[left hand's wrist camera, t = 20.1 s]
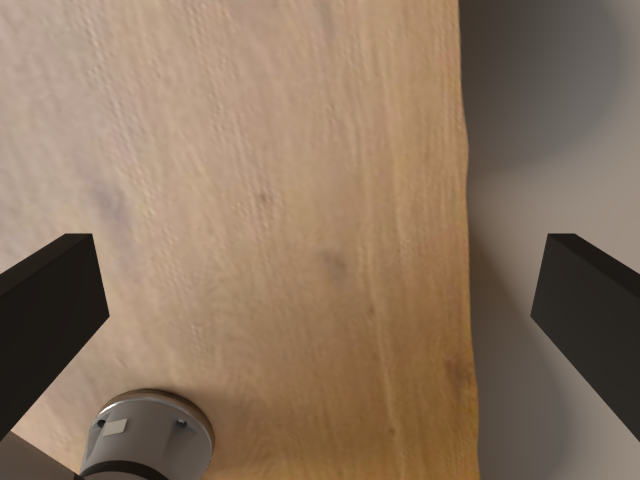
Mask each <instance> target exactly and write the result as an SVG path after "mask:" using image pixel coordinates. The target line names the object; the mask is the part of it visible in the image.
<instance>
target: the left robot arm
mask: <svg viewBox="0 0 640 480" xmlns="http://www.w3.org/2000/svg"><path fill="white" fill-rule="evenodd" d="M109 316H110V315H109V311H108V306H107V301H106V297H105V292H104V287H103V283H102V278H101V273H100V268H99V264H98V259H97V254H96V250H95V245H94V240H93V236H92V234H64V235H62V236H61V237H59V238H58V239H56V240H54V241H53V242H51V243H50V244H48V245H46V246H45V247H43V248H42V249H40V250H38V251H37V252H35V253H34V254H32V255H30V256H29V257H27V258H26V259H24V260H22V261H21V262H19V263H18V264H16V265H14V266H13V267H11V268H9V269H8V270H6V271H5V272H3V273H1V274H0V480H200V478H201V477H202V476H203V474H204V473H205V471H206V470H207V468H208V466H209V464H210V461H211V457H212V454H213V450H214V445H215V437H214V432H213V429H212V427H211V424H210V423H209V421H208V419H207V418H206V417H205V415H204V414H203V413H202V412H201V411H200V410H199V409H198V408H197V407H195V406H194V405H193V404H191V403H190V402H188V401H187V400H185V399H183V398H181V397H178V396H176V395H173V394H170V393H167V392H162V391H156V390H137V391H131V392H127V393H124V394H121V395H119V396H117V397H115V398H113V399H112V400H110V401H109V402H108V403H106V404H105V405H104V407H103V408H102V409H101V410H100V412H99V413H98V415H97V416H96V418H95V420H94V421H93V423H92V425H91V427H90V430H89V434H88V438H87V443H86V447H85V452H84V456H83V461H82V465H81V470H80V474H79V475H78V474H76V473H75V472H73V471H71V470H70V469H68V468H67V467H65V466H64V465H62V464H61V463H59V462H58V461H56V460H54V459H53V458H51V457H50V456H48V455H47V454H45V453H44V452H42V451H41V450H39V449H38V448H36V447H35V446H33V445H31V444H30V443H28V442H27V441H25V440H24V439H22V438H21V437H19V436H18V435H16V434H15V433H13V432H12V431H10V430H11V429H12V428H13V427H14V426H15V424H16V423H17V422H18V421H19V420H20V419H21V418H22V416H23V415H24V414H25V413H26V412H27V411H28V410H29V408H30V407H31V406H32V405H33V404H34V403H35V402H36V400H37V399H38V398H39V397H40V396H41V395H42V393H43V392H44V391H45V390H46V389H47V388H48V387H49V385H50V384H51V383H52V382H53V381H54V380H55V379H56V377H57V376H58V375H59V374H60V373H61V372H62V370H63V369H64V368H65V367H66V366H67V365H68V364H69V362H70V361H71V360H72V359H73V358H74V357H75V356H76V354H77V353H78V352H79V351H80V350H81V349H82V347H83V346H84V345H85V344H86V343H87V342H88V341H89V339H90V338H91V337H92V336H93V335H94V334H95V333H96V331H97V330H98V329H99V328H100V327H101V326H102V324H103V323H104V322H105V321H106V320H107V319H108V318H109ZM530 316H531V318H532V319H533V320H534V321H535V322H536V323H537V324H538V326H539V327H540V328H541V329H542V330H543V331H544V333H545V334H546V335H547V336H548V337H549V338H550V339H551V341H552V342H553V343H554V344H555V345H556V346H557V347H558V349H559V350H560V351H561V352H562V353H563V354H564V356H565V357H566V358H567V359H568V360H569V361H570V362H571V364H572V365H573V366H574V367H575V368H576V369H577V370H578V372H579V373H580V374H581V375H582V376H583V377H584V379H585V380H586V381H587V382H588V383H589V384H590V385H591V387H592V388H593V389H594V390H595V391H596V392H597V393H598V395H599V396H600V397H601V398H602V399H603V400H604V402H605V403H606V404H607V405H608V406H609V407H610V408H611V410H612V411H613V412H614V413H615V414H616V415H617V416H618V418H619V419H620V420H621V421H622V422H623V423H624V424H625V426H626V427H627V428H628V429H629V430H630V431H631V433H632V434H633V435H634V436H635V437H636V438H637V439H638V441H639V442H640V274H638V273H637V272H635V271H634V270H632V269H630V268H629V267H627V266H626V265H624V264H622V263H621V262H619V261H618V260H616V259H614V258H613V257H611V256H610V255H608V254H606V253H605V252H603V251H602V250H600V249H598V248H597V247H595V246H594V245H592V244H590V243H589V242H587V241H586V240H584V239H582V238H581V237H579V236H578V235H576V234H548V236H547V240H546V245H545V250H544V254H543V259H542V264H541V268H540V273H539V278H538V282H537V287H536V292H535V297H534V301H533V306H532V311H531V315H530Z"/></svg>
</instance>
